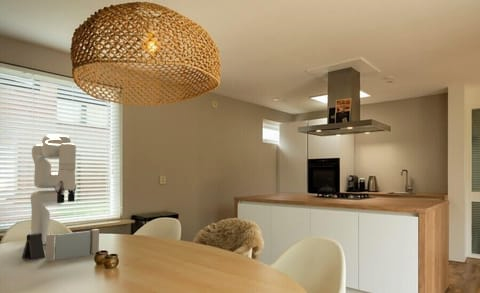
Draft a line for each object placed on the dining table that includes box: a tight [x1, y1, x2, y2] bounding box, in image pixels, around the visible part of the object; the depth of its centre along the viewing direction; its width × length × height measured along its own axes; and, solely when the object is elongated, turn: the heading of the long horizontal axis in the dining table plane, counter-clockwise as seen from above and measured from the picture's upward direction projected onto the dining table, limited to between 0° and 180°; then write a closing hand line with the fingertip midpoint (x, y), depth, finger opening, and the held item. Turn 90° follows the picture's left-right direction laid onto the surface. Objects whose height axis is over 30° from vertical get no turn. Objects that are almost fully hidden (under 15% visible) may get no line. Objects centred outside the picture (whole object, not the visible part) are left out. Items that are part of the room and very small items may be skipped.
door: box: [54, 229, 92, 261], centre depth 168 cm, size 17×2×13 cm, turn 130°
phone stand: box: [21, 233, 46, 261], centre depth 166 cm, size 9×6×12 cm, turn 65°
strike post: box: [45, 233, 56, 262], centre depth 161 cm, size 3×3×12 cm
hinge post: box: [90, 228, 100, 255], centre depth 174 cm, size 3×3×12 cm
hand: (66, 202), depth 165 cm, fingers open, 9 cm apart
